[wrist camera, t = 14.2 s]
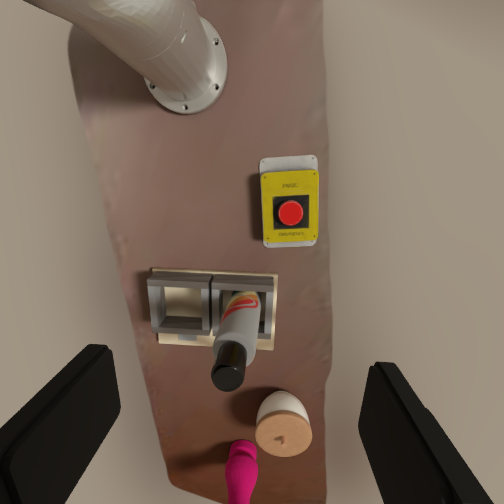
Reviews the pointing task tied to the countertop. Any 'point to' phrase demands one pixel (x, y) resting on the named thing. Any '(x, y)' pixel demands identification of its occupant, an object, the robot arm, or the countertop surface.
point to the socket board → (206, 303)
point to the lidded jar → (283, 425)
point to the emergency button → (289, 200)
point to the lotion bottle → (236, 340)
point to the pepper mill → (241, 472)
